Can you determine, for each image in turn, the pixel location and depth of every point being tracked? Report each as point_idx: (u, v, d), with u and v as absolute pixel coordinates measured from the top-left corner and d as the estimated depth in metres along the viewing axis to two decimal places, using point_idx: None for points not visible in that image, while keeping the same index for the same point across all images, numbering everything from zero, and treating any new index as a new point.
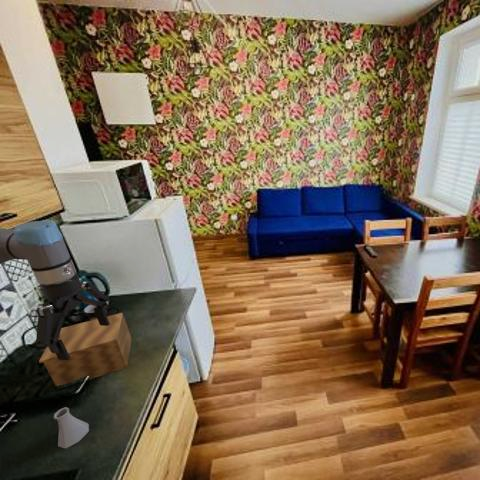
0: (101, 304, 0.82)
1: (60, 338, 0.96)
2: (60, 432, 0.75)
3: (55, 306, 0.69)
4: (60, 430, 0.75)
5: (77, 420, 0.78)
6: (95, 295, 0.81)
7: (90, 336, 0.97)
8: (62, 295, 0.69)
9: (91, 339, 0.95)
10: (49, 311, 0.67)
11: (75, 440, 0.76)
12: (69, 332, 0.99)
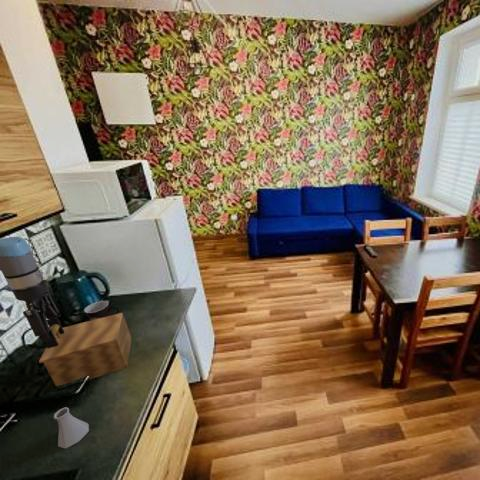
0: (55, 314, 0.95)
1: (60, 338, 0.96)
2: (60, 432, 0.75)
3: (35, 306, 0.85)
4: (60, 430, 0.75)
5: (77, 420, 0.78)
6: None
7: (90, 336, 0.97)
8: (39, 295, 0.85)
9: (91, 339, 0.95)
10: (35, 311, 0.84)
11: (75, 440, 0.76)
12: (69, 332, 0.99)
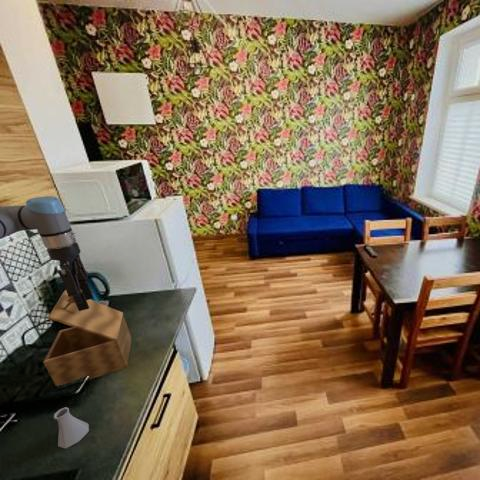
0: (85, 278, 0.95)
1: (69, 303, 0.93)
2: (60, 432, 0.75)
3: (68, 266, 0.85)
4: (60, 430, 0.75)
5: (77, 420, 0.78)
6: None
7: (95, 320, 0.96)
8: (73, 255, 0.86)
9: (96, 324, 0.94)
10: (69, 270, 0.84)
11: (75, 440, 0.76)
12: None
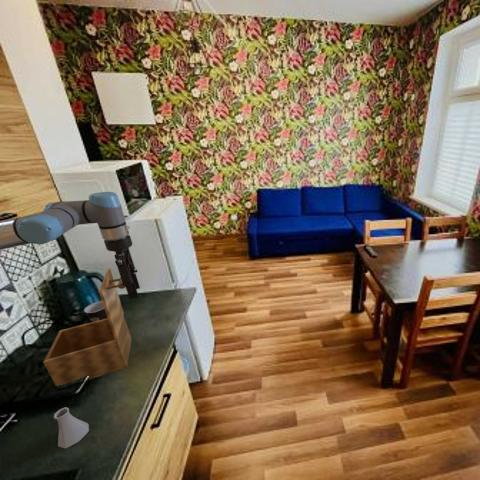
0: None
1: (109, 283, 0.97)
2: (60, 432, 0.75)
3: (123, 257, 0.92)
4: (60, 430, 0.75)
5: (77, 420, 0.78)
6: None
7: (114, 310, 0.98)
8: (127, 247, 0.92)
9: (114, 315, 0.96)
10: (124, 261, 0.91)
11: (75, 440, 0.76)
12: (111, 285, 1.00)
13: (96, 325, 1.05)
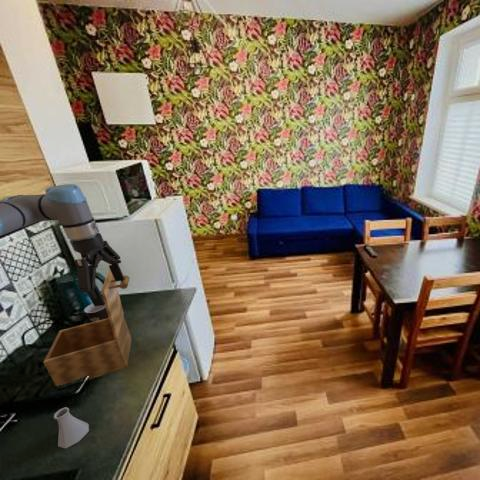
0: (116, 261, 0.93)
1: (110, 283, 0.97)
2: (60, 432, 0.75)
3: (88, 258, 0.80)
4: (60, 430, 0.75)
5: (77, 420, 0.78)
6: (109, 253, 0.92)
7: (115, 310, 0.98)
8: (93, 248, 0.80)
9: (114, 315, 0.96)
10: (86, 261, 0.78)
11: (75, 440, 0.76)
12: (113, 284, 1.00)
13: (96, 325, 1.05)
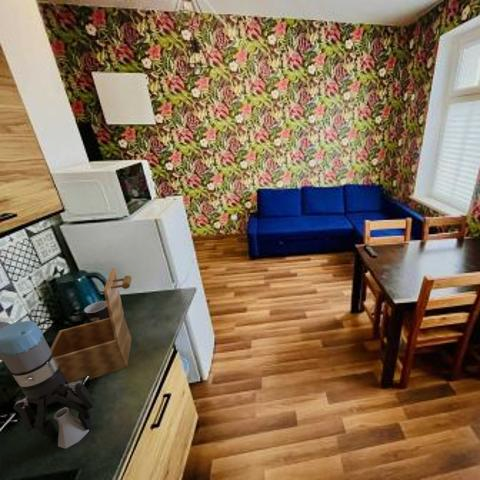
0: (80, 410, 0.76)
1: (112, 283, 0.98)
2: (60, 432, 0.75)
3: (28, 401, 0.69)
4: (60, 430, 0.75)
5: (77, 420, 0.78)
6: None
7: (116, 310, 0.98)
8: (27, 397, 0.67)
9: (115, 315, 0.96)
10: (19, 408, 0.68)
11: (75, 440, 0.76)
12: (114, 284, 1.00)
13: (96, 325, 1.05)
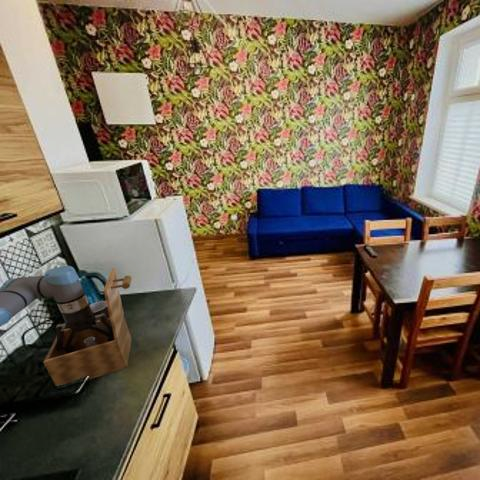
0: (108, 335, 1.01)
1: (112, 283, 0.98)
2: None
3: (66, 326, 0.93)
4: None
5: None
6: None
7: (116, 310, 0.98)
8: (66, 322, 0.92)
9: (115, 315, 0.96)
10: (59, 329, 0.92)
11: None
12: (114, 284, 1.00)
13: None
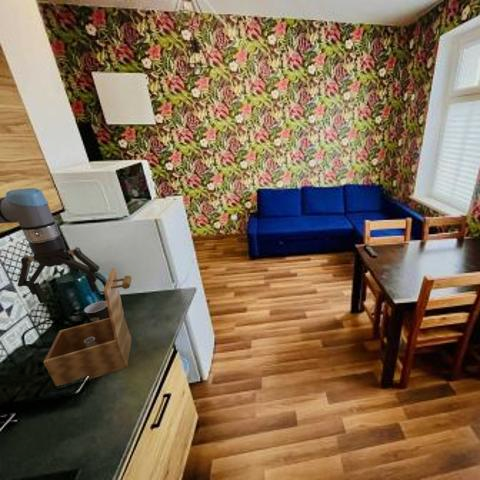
0: (87, 272, 0.90)
1: (113, 283, 0.98)
2: None
3: (34, 259, 0.83)
4: None
5: None
6: None
7: (116, 310, 0.98)
8: (34, 253, 0.81)
9: (115, 315, 0.96)
10: (25, 261, 0.82)
11: None
12: (114, 284, 1.00)
13: (96, 325, 1.05)
